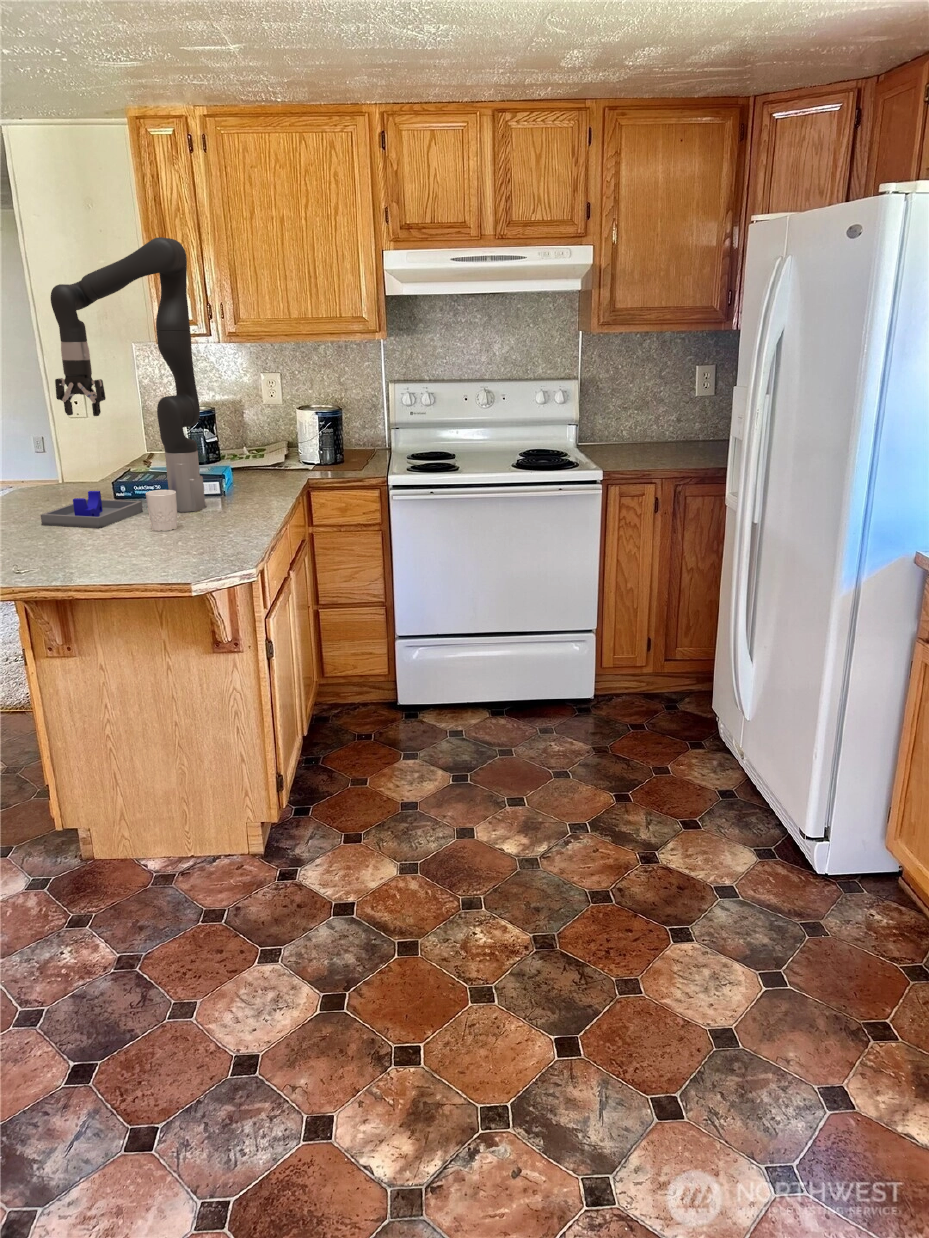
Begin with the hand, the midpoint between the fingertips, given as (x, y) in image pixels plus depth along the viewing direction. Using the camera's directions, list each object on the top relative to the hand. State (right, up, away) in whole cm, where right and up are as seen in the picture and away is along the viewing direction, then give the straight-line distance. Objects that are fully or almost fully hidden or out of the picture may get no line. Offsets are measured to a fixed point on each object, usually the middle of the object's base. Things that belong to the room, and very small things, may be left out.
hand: (83, 415), depth 270 cm
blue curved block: (+5, -30, -6) cm, 31 cm away
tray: (+6, -31, -6) cm, 32 cm away
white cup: (+30, -35, -17) cm, 49 cm away
